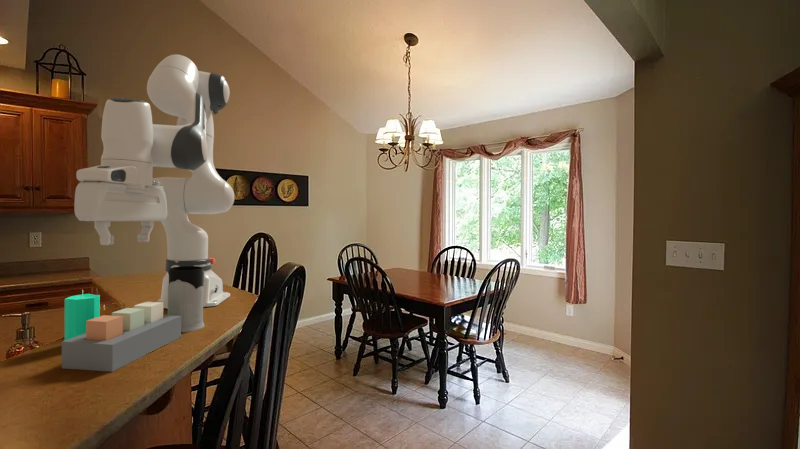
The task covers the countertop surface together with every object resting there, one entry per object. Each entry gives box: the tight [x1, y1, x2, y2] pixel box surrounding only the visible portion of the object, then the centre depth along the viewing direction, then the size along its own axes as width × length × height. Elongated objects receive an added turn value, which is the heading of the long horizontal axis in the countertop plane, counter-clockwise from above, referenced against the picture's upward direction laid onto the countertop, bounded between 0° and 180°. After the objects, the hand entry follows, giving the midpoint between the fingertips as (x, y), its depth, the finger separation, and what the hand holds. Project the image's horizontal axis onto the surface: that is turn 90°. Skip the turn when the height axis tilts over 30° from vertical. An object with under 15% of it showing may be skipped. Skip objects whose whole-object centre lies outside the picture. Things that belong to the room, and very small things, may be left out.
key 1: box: [86, 314, 123, 341], centre depth 77 cm, size 4×4×6 cm
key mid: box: [111, 307, 145, 331], centre depth 83 cm, size 4×4×6 cm
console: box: [61, 314, 182, 373], centre depth 83 cm, size 20×10×5 cm, turn 176°
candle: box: [64, 289, 101, 341], centre depth 86 cm, size 6×6×12 cm
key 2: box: [133, 301, 164, 323], centre depth 89 cm, size 4×4×6 cm
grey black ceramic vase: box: [167, 266, 205, 333], centre depth 103 cm, size 9×14×15 cm, turn 3°
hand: (126, 243), depth 82 cm, fingers open, 8 cm apart
